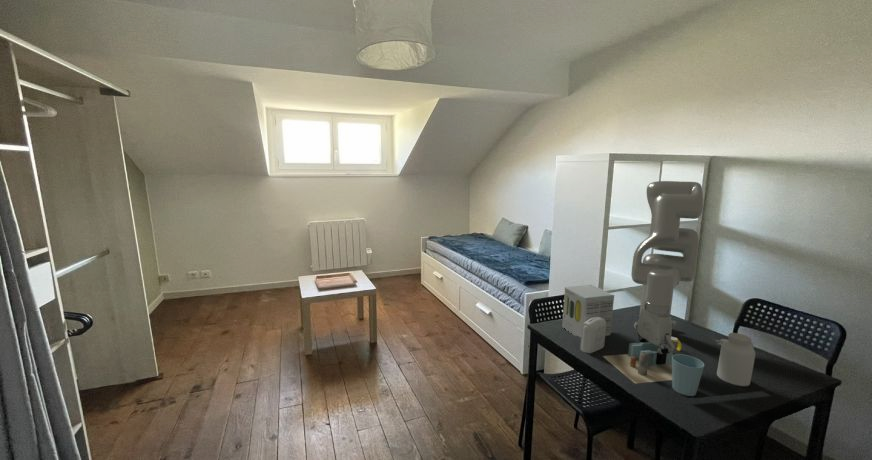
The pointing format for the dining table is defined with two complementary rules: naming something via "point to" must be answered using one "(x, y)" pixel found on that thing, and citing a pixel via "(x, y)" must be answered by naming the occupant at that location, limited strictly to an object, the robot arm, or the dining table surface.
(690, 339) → the dining table surface
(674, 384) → the cup
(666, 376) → the board
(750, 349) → the pill bottle
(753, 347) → the power adapter
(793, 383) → the dining table surface
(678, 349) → the watch
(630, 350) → the u-shaped channel block
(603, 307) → the supplement box
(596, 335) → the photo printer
